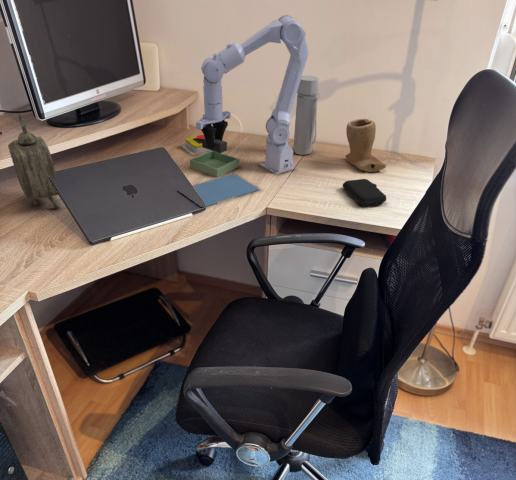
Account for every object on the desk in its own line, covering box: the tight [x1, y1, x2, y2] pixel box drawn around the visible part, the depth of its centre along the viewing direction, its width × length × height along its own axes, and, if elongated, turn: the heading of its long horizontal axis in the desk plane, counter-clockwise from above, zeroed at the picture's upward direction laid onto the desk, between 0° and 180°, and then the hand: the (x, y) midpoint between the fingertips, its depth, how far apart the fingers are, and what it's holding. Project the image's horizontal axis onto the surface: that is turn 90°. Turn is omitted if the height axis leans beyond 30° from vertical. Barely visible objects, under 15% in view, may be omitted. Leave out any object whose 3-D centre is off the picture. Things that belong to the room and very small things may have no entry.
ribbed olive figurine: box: [7, 113, 60, 210], centre depth 140 cm, size 14×9×25 cm, turn 30°
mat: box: [192, 173, 260, 209], centre depth 158 cm, size 14×22×1 cm, turn 128°
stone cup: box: [344, 118, 387, 173], centre depth 172 cm, size 15×12×15 cm
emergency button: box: [181, 134, 229, 156], centre depth 183 cm, size 9×4×15 cm
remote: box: [202, 138, 228, 153], centre depth 165 cm, size 8×3×3 cm, turn 52°
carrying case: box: [342, 178, 387, 207], centre depth 157 cm, size 11×3×15 cm
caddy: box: [189, 151, 240, 178], centre depth 171 cm, size 12×12×3 cm
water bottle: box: [292, 75, 321, 156], centre depth 176 cm, size 9×8×25 cm
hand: (214, 145), depth 165 cm, fingers closed on remote, 3 cm apart
